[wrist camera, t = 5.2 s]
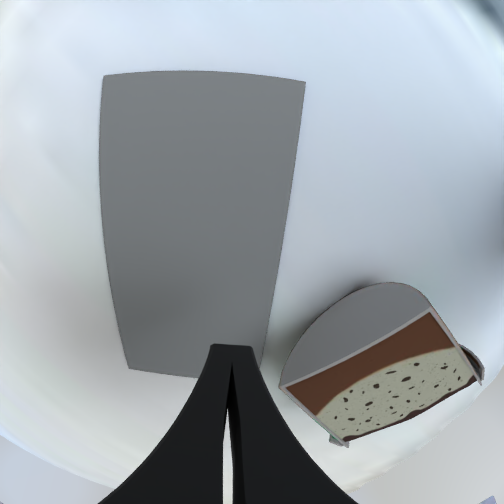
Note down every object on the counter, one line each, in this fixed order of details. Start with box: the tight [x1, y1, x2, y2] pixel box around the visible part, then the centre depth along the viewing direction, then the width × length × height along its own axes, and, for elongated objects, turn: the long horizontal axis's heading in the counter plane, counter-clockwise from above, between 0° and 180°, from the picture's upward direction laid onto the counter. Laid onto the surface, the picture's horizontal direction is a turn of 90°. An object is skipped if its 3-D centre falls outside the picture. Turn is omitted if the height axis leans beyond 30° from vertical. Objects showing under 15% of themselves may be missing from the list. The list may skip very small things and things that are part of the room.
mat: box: [99, 71, 306, 378], centre depth 16 cm, size 10×20×1 cm, turn 174°
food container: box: [279, 282, 485, 448], centre depth 17 cm, size 12×6×10 cm
